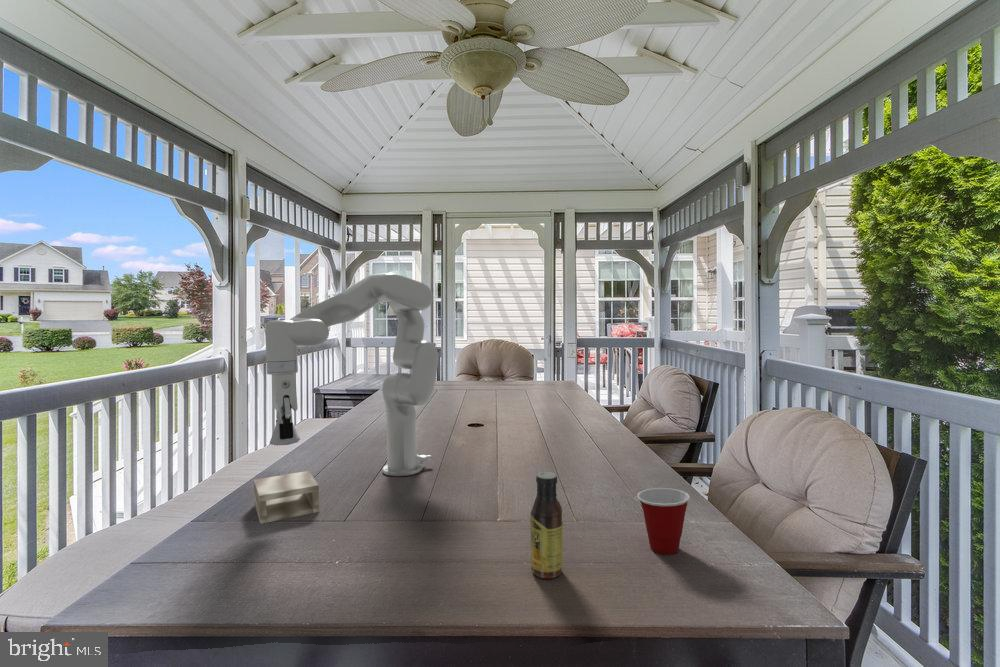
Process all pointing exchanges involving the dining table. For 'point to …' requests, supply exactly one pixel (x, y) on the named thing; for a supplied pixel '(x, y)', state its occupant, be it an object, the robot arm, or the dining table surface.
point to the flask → (276, 435)
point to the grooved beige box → (286, 496)
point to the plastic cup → (664, 517)
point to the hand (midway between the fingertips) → (284, 435)
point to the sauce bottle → (546, 528)
